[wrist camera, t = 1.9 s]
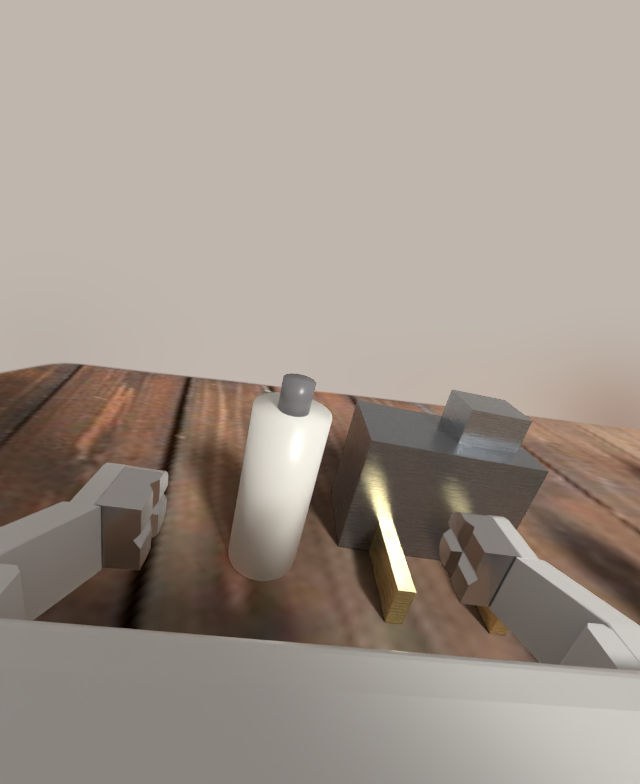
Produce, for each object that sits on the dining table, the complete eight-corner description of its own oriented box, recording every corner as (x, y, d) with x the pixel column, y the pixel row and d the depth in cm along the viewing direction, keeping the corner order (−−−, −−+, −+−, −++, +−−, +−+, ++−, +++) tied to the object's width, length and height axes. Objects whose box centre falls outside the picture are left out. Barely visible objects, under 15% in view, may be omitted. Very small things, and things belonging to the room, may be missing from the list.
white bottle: (221, 576, 24) (253, 387, 19) (234, 523, 29) (262, 359, 24) (294, 585, 25) (344, 404, 20) (295, 531, 29) (336, 374, 24)
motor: (346, 618, 23) (408, 449, 19) (331, 491, 35) (366, 369, 31) (562, 641, 25) (667, 494, 21) (478, 513, 37) (532, 402, 33)
